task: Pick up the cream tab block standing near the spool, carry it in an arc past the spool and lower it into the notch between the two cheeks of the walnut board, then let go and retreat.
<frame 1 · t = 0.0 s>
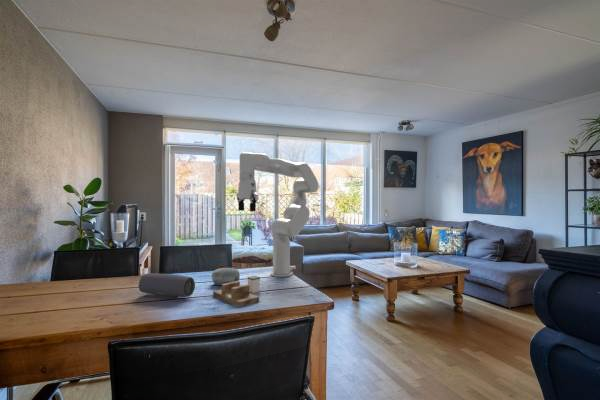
hand: (246, 210, 161), 37 cm above the table, tool pointing down, fingers open, 9 cm apart
tab: (253, 291, 148), on the table
bluetooth speaker: (167, 297, 139), on the table
spool: (225, 284, 159), on the table
notched board: (235, 298, 137), on the table
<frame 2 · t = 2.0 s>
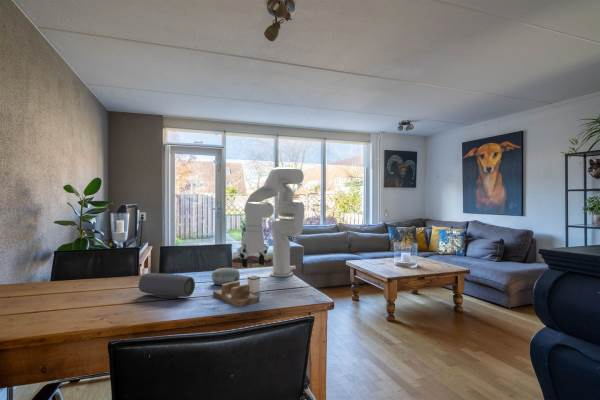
hand: (253, 265, 147), 12 cm above the table, tool pointing down, fingers open, 9 cm apart
nothing on the table moved.
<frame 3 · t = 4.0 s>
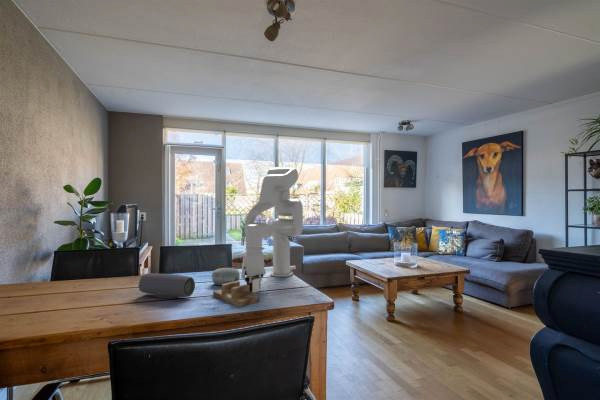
hand: (253, 289, 148), 1 cm above the table, tool pointing down, fingers closed on tab, 4 cm apart
tab: (253, 291, 148), on the table, touching gripper
everything else where it was.
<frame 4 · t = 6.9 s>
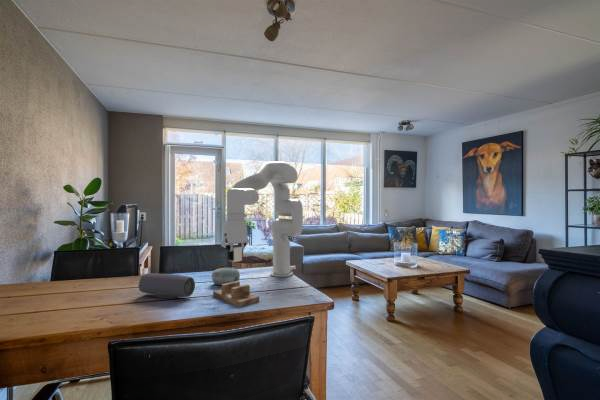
hand: (235, 259, 137), 17 cm above the table, tool pointing down, fingers closed on tab, 4 cm apart
tab: (235, 260, 137), point 16 cm above the table, touching gripper
everything else where it was.
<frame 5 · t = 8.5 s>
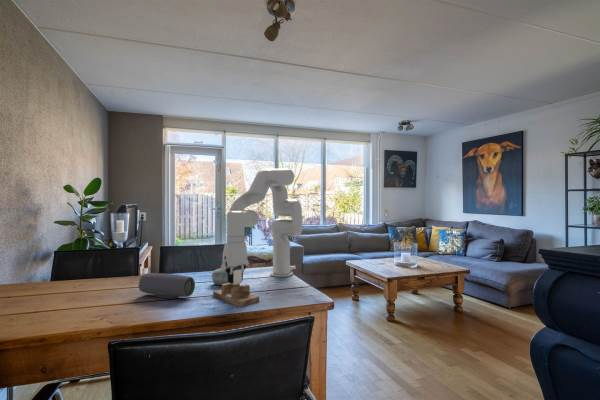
hand: (235, 281, 137), 7 cm above the table, tool pointing down, fingers closed on tab, 4 cm apart
tab: (235, 283, 137), point 7 cm above the table, touching gripper
everything else where it was.
when the fingers open (5 cm above the table, at t = 9.8 s): tab drops 2 cm, resting on notched board.
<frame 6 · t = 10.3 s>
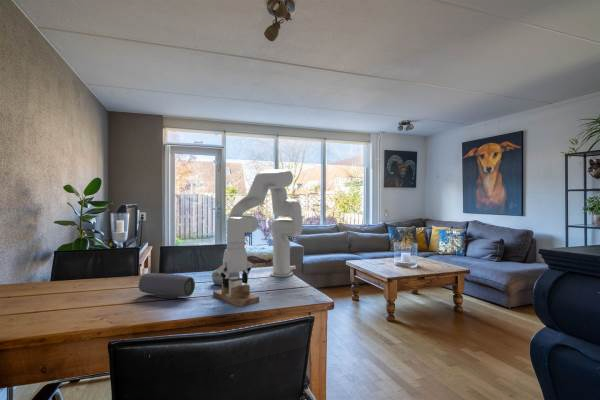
hand: (235, 285, 137), 6 cm above the table, tool pointing down, fingers open, 9 cm apart
tab: (235, 293, 137), point 2 cm above the table, touching notched board
everything else where it was.
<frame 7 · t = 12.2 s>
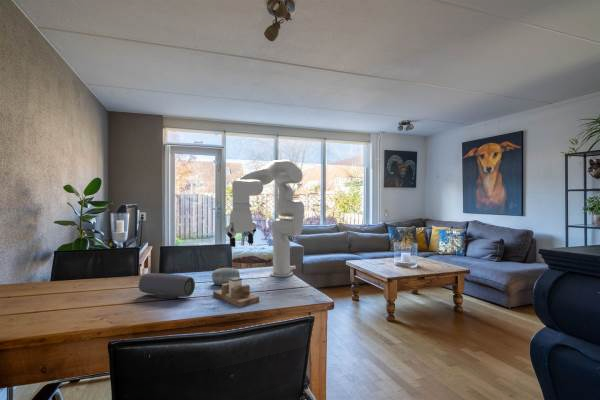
hand: (241, 245, 144), 22 cm above the table, tool pointing down, fingers open, 9 cm apart
nothing on the table moved.
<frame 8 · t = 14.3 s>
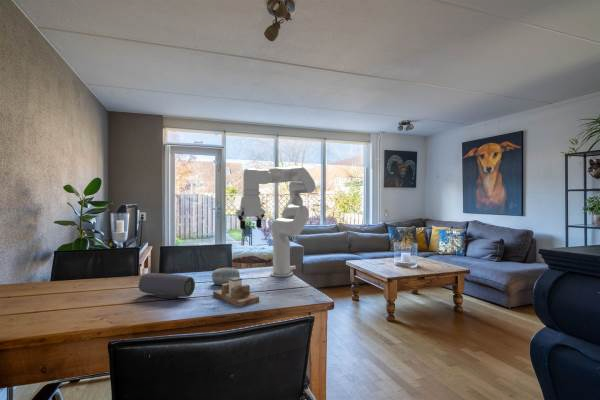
hand: (251, 228, 157), 28 cm above the table, tool pointing down, fingers open, 9 cm apart
nothing on the table moved.
at the end: tab inside the target area on the notched board (0.1 cm from its centre), point 2.1 cm above the notched board's base; tab tilted 0°; the gripper is holding nothing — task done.
